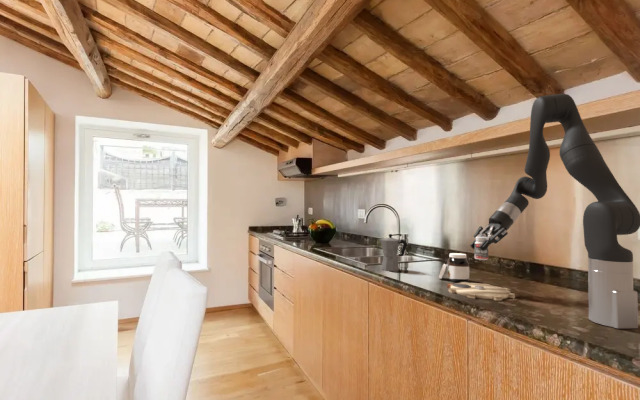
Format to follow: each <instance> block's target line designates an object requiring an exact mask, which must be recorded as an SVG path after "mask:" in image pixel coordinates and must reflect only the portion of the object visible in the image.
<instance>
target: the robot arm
mask: <svg viewBox="0 0 640 400" xmlns="http://www.w3.org/2000/svg"><path fill="white" fill-rule="evenodd" d="M549 123H551V124H552V123H560V124H561V126H562V128H563V131H564V137H563V138H562V141H561V145H560V148H559V157H560V160H561V161H562V164H563V165H564V168H565V170H566V171H567V173H568V174H569V175H570V176H571V177H572V178H573V179H574V180H576V182H578V183H579V184H581V185H582V186H583V187H584V188H586V189H587V190H588V191H589V192H590V193H591V194H592V195H593V196H594V197H595V199H596V200H597V201H593V202H591V203H589V204H588V205H587V206H586V207H585V209H584V212H583V216H582V217H583V218H582V226H583V227H582V228H583V241H584V246H585V249H586V251H587V257H588V258H587V259H588V260H587V262H588V264H587V265H588V266H587V268H588V269H587V271H588V272H587V277H588V279H587V280H588V281H587V282H588V283H587V285H588V289H587V291H588V292H587V293H588V295H587V296H588V299H587V300H588V320H590V322H594V323H596V324H599V325H603V326H605V327H611V328H615V329H638V328H639V315H638V314H639V309H638V308H639V307H638V305H639V303H638V301H639V300H638V299H639V298H638V297H639V296H638V295H639V293H638V292H637V290H634V253H633V251H632V250H630V249H628V248H625V247H624V246H622V245H621V244H620V243H619V241H618V236H623V235H624V236H626V235H633V234H634V233H636V232H637V231H638V230H639V229H640V211H639V210H638V208H637V206H636V205H635V204H634V202H633V201H632V199H631V198H630V197H629V195H628V194H627V193H626V191H625V190H624V189H623V187H622V186H621V185H620V184H619V182H618V180H617V179H616V178H615V176H614V174H613V173H612V170H611V169H610V167H609V166H608V164H607V163H606V161H605V159H604V157H603V155H602V154H601V152H600V150H599V148H598V146H597V145H596V143H595V142H594V141H593V139H592V137H591V135H590V133H589V131H588V130H587V128H586V125H585V123H584V121H583V119H582V117H581V114H580V112H579V109H578V106H577V104H576V101H574V98H573V97H572V96H571V95H569V94H568V93H567V94H566V93H558V94H549V95H548V94H547V95H541V96H538V97H536V98H535V100H534V101H533V102H532V106H531V111H530V122H529V144H528V153H527V157H526V161H525V165H524V173H525V174H526V175H527V176H522V177H520V178H518V179H517V181H516V182H515V185H514V188H513V190H512V191H511V194H510V195H509V196H508V197H507V199H506V200H505V201H504V202H503V203H502V204H501V205H500V206H498V208H497V209H496V210H495V211H494V212H493V213H492V214H491V215H490V217H489V218H488V224H487V225H485V226H484V227H483V226H482V225H481V226H479V227H478V228H477V229H476V231H475V233H474V235H473V238H474V240H473V241H472V242H471V244H470V245H469V246H470V248H472V249H473V250H475V242H476V237H487V238H486V240H485V241H484V242H483V243H482V244H481V245H480V246H479V248H480V249H481V250H482V251H485V249H486V248H487V247H488V248H489V247H490V245H493V244H498V243H499V242H500V241H501V240H502V239H503V238H505V237H506V236H507V235H508V234H509V232H508V230H509V229H510V228H511V227H512V226H513V225H514V223H515V222H516V221H517V220H518V218H519V217H520V216H521V214H522V213H523V212H524V211H525V210H526V208H527V207H528V206H529V200H528V198H527V197H529V198H532V199H535V200H540V199H542V198H543V197H544V196H545V195H546V193H547V191H548V180H547V177H548V176H547V171H548V167H549V162H550V160H551V159H550V157H551V151H550V147H549V146H548V144H547V141H546V139H545V136H544V127H545V125H546V124H549Z"/></svg>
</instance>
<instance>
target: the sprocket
mask: <svg viewBox="0 0 640 400" xmlns="http://www.w3.org/2000/svg"><path fill="white" fill-rule="evenodd" d="M446 287H447V288H448V292H449V293H451V294H457V295H459V296H460V295H461V296H464V297H467V298H469V299H474V300H475V299H483V300H493V301H503V300H505V299H515V298H516V293H513V292H511V288H507V287H500V286H496V285H492V284H490V283H477V282H468V281H467V282H460V283H456V282H454V283H447V284H446Z"/></svg>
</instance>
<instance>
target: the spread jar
mask: <svg viewBox="0 0 640 400" xmlns="http://www.w3.org/2000/svg"><path fill="white" fill-rule="evenodd" d="M448 256H449V258H448V259H447V263H446V264H445V263H443V264H442V266H441V269H440V272H439V275H438V279H441V280H442V279H443V277H444V275H445V272H446V275H447V279H448V281H449V282H452V283H460V282H467V283H468V282H469V281H470V263H469V261H468V260H467V259H468V258H467V254H466V253H460V252H459V253H457V252H450V253H449V255H448Z"/></svg>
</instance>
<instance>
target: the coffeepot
mask: <svg viewBox="0 0 640 400" xmlns="http://www.w3.org/2000/svg"><path fill="white" fill-rule="evenodd" d="M388 236H389V237H386V238H381V239H378V241H379V242H380V244H381V247H382V253H383V257H382V263H381V267H380V268H381V269H380V270H382V271H385V272H398V271H399V270H400V267H399V261H398V260H399V259H398V256H399V257H403V256H404V254H405V252H406V248H407V246H408V243H407V242H406V240H405V239H396V238H393V234H392V233H389V234H388ZM399 244H403V245H402V249H401V253H399V254H398V252H399Z"/></svg>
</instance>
